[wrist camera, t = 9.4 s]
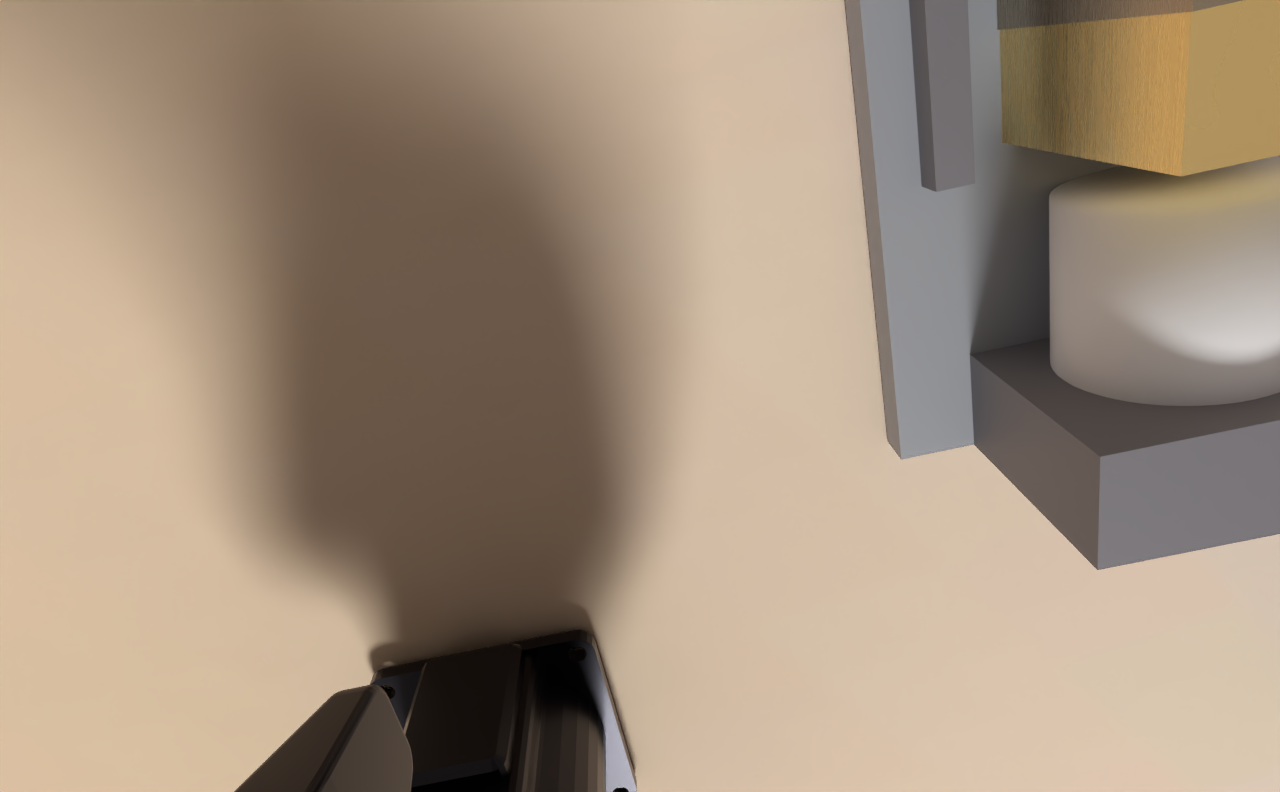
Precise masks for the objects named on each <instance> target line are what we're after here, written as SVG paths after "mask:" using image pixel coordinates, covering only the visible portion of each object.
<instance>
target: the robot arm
mask: <svg viewBox="0 0 1280 792" xmlns="http://www.w3.org/2000/svg"><path fill="white" fill-rule="evenodd" d="M574 647H581V648H584V650H582V651H574V650H572V649H571V648H574ZM383 685H388V686H391V687H393V688H394V689H388V688H385V687H383ZM618 787H623V788H618ZM234 792H637V784H636V776H635V773H634V770H633V766H632V763H631V760H630V756H629V753H628V750H627V746H626V743H625V739H624V736H623V733H622V729H621V726H620V723H619V719H618V716H617V712H616V709H615V706H614V702H613V699H612V696H611V692H610V689H609V686H608V682H607V679H606V675H605V672H604V669H603V665H602V662H601V659H600V655H599V652H598V648H597V645H596V642H595V640H594V638H593V636H592V635H591V634H589V633H588V632H586V631H582V630H573V631H568V632H563V633H558V634H553V635H548V636H543V637H538V638H533V639H528V640H523V641H518V642H513V643H508V644H503V645H498V646H494V647H489V648H484V649H479V650H474V651H469V652H464V653H459V654H454V655H449V656H444V657H439V658H434V659H429V660H424V661H419V662H414V663H409V664H404V665H399V666H394V667H389V668H384V669H382V670H379V671H377V672H376V673H375V674H374V675H373V678H372V681H371V683H370V685H367V686H362V687H357V688H352V689H347V690H343V691H340V692H337V693H335V694H334V695H333V696H331V697H330V698H329V699H328V700H327V701H326V702H325V703H324V704H323V705H322V706H321V707H320V708H319V709H318V710H317V711H316V712H315V713H314V714H313V715H312V716H311V717H310V718H309V719H308V720H307V721H306V722H305V723H304V724H303V725H302V726H301V727H300V728H299V729H297V730H296V731H295V732H294V733H293V734H292V735H291V736H290V737H289V738H288V739H287V740H286V741H285V742H284V743H283V744H282V745H281V746H280V747H279V748H278V749H277V750H276V751H275V752H274V753H273V754H272V755H271V756H270V757H269V758H268V759H267V760H266V761H265V762H264V763H263V764H262V765H261V766H260V767H259V768H258V769H257V770H256V771H255V772H254V773H253V774H252V775H251V776H250V777H249V778H248V779H247V780H246V781H245V782H244V783H243V784H241V785H240V786H239V787H238V788H237V789H236V790H235V791H234Z"/></svg>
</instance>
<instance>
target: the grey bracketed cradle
mask: <svg viewBox="0 0 1280 792" xmlns="http://www.w3.org/2000/svg"><path fill="white" fill-rule="evenodd" d="M845 7H846V17H847V28H848V38H849V48H850V58H851V69H852V79H853V89H854V100H855V110H856V120H857V130H858V141H859V151H860V161H861V172H862V182H863V192H864V202H865V213H866V223H867V233H868V244H869V254H870V264H871V274H872V285H873V295H874V305H875V316H876V326H877V336H878V346H879V357H880V367H881V377H882V388H883V398H884V408H885V418H886V429H887V439H888V442H889V444H890V445H891V446H892V448H893V449H894V450H895V452H896V453H897V454H898V456H899V457H900V458H901V459H906V458H911V457H915V456H920V455H925V454H930V453H935V452H940V451H944V450H949V449H954V448H959V447H964V446H969V445H973V444H974V445H975V446H976V447H977V448H978V449H979V450H980V451H981V452H982V453H983V454H984V455H985V456H986V457H987V458H988V459H989V460H990V461H991V462H992V463H993V464H994V465H995V466H996V467H997V468H998V469H999V470H1000V471H1001V472H1002V473H1003V474H1004V475H1005V476H1006V477H1007V478H1008V479H1009V480H1010V481H1011V482H1012V483H1013V484H1014V485H1015V486H1016V488H1017V489H1018V490H1019V491H1020V492H1021V493H1022V494H1023V495H1024V496H1025V497H1026V498H1027V499H1028V500H1029V501H1030V502H1031V503H1032V504H1033V505H1034V506H1035V507H1036V508H1037V509H1038V510H1039V511H1040V512H1041V513H1042V514H1043V515H1044V516H1045V517H1046V518H1047V519H1048V520H1049V521H1050V522H1051V523H1052V524H1053V525H1054V526H1055V527H1056V528H1057V529H1058V530H1059V531H1060V532H1061V533H1062V534H1063V535H1064V536H1065V537H1066V538H1067V539H1068V540H1069V541H1070V542H1071V543H1072V544H1073V545H1074V546H1075V547H1076V549H1077V550H1078V551H1079V552H1080V553H1081V554H1082V555H1083V556H1084V557H1085V558H1086V559H1087V560H1088V561H1089V562H1090V563H1091V564H1092V565H1093V566H1094V567H1095V568H1096V569H1097V570H1100V569H1105V568H1110V567H1115V566H1120V565H1125V564H1130V563H1135V562H1140V561H1145V560H1150V559H1155V558H1160V557H1165V556H1171V555H1176V554H1181V553H1186V552H1191V551H1196V550H1201V549H1206V548H1211V547H1216V546H1221V545H1226V544H1231V543H1236V542H1241V541H1246V540H1251V539H1256V538H1261V537H1266V536H1271V535H1276V534H1280V155H1279V156H1274V157H1270V158H1265V159H1260V160H1256V161H1251V162H1246V163H1242V164H1237V165H1232V166H1228V167H1223V168H1218V169H1214V170H1209V171H1204V172H1200V173H1195V174H1190V175H1186V176H1181V177H1180V176H1175V175H1170V174H1165V173H1159V172H1154V171H1149V170H1143V169H1138V168H1133V167H1128V166H1122V165H1117V164H1112V163H1106V162H1101V161H1096V160H1091V159H1085V158H1080V157H1075V156H1069V155H1064V154H1059V153H1054V152H1048V151H1043V150H1038V149H1032V148H1027V147H1022V146H1017V145H1011V144H1006V143H1002V106H1001V62H1000V30H997V0H845Z"/></svg>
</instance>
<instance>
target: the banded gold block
mask: <svg viewBox="0 0 1280 792" xmlns="http://www.w3.org/2000/svg"><path fill="white" fill-rule="evenodd" d="M997 30H1000V62H1001V106H1002V143H1006V144H1011V145H1017V146H1022V147H1027V148H1032V149H1038V150H1043V151H1048V152H1054V153H1059V154H1064V155H1069V156H1075V157H1080V158H1085V159H1091V160H1096V161H1101V162H1106V163H1112V164H1117V165H1122V166H1128V167H1133V168H1138V169H1143V170H1149V171H1154V172H1159V173H1165V174H1170V175H1175V176H1180V177H1181V176H1186V175H1190V174H1195V173H1200V172H1204V171H1209V170H1214V169H1218V168H1223V167H1228V166H1232V165H1237V164H1242V163H1246V162H1251V161H1256V160H1260V159H1265V158H1270V157H1274V156H1279V155H1280V0H997Z"/></svg>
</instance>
